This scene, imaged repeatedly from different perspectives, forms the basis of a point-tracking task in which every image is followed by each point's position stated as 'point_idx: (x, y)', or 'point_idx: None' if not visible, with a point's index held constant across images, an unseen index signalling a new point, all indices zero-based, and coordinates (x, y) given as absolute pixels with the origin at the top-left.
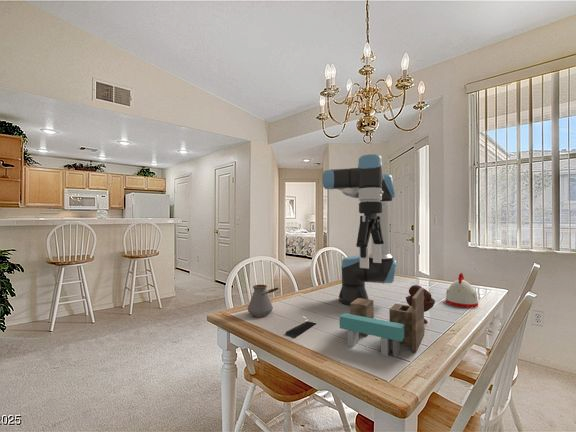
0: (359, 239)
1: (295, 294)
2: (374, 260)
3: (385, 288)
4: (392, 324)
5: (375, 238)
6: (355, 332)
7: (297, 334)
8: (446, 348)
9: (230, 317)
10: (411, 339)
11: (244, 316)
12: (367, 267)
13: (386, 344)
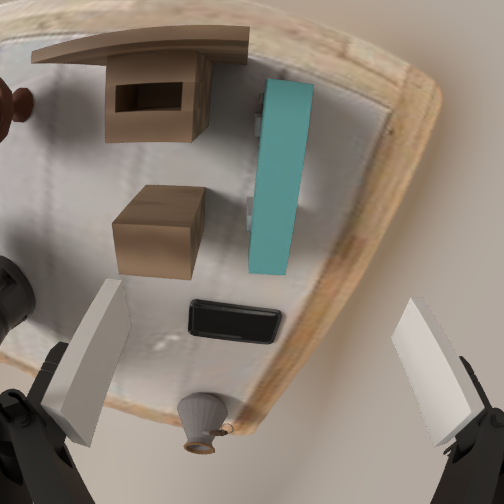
0: None
1: None
2: (124, 329)
3: None
4: (289, 113)
5: (82, 493)
6: None
7: (268, 324)
8: (161, 3)
9: (244, 419)
10: (208, 69)
11: (228, 411)
12: (423, 305)
13: None
